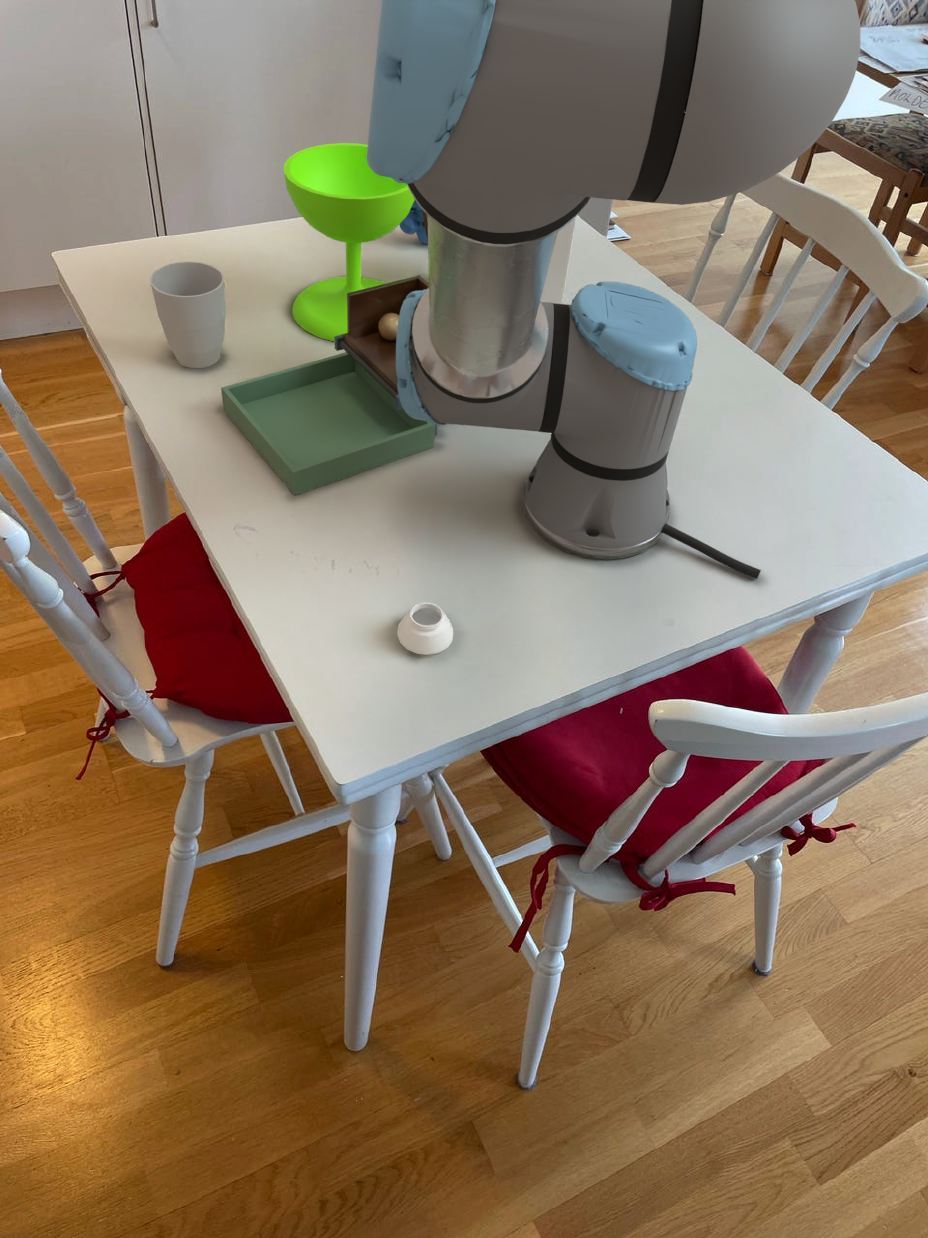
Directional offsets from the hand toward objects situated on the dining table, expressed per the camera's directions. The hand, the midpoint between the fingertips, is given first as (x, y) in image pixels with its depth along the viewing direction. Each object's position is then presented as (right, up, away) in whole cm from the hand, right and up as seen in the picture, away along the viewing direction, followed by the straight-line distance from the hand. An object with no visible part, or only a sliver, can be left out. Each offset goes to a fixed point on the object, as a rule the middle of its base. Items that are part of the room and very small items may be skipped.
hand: (488, 263), depth 105 cm
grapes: (-8, +15, +34) cm, 38 cm away
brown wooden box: (-9, -10, +2) cm, 13 cm away
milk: (+7, 0, +22) cm, 23 cm away
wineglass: (-17, +1, +20) cm, 26 cm away
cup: (-35, -8, +10) cm, 37 cm away
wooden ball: (-11, -6, +2) cm, 13 cm away
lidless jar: (-6, -41, -18) cm, 45 cm away
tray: (-18, -18, +2) cm, 25 cm away
